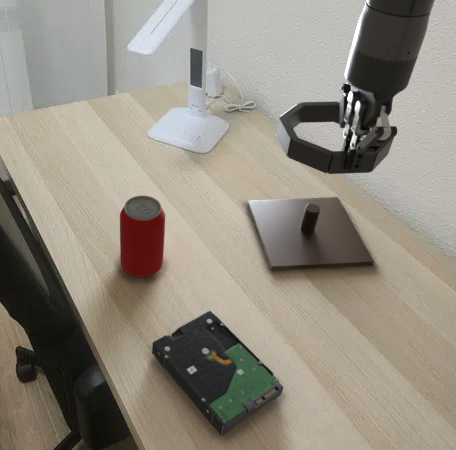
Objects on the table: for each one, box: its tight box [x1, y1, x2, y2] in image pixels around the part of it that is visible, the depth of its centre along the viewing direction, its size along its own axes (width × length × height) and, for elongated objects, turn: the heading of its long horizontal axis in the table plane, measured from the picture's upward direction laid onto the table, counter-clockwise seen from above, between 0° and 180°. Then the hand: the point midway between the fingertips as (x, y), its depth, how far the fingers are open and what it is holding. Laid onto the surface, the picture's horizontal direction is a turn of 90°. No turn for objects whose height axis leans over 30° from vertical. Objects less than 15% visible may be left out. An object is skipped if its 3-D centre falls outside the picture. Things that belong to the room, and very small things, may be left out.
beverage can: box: [119, 195, 166, 278], centre depth 84 cm, size 7×7×12 cm
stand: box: [246, 196, 375, 271], centre depth 93 cm, size 17×17×6 cm
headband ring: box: [275, 101, 395, 175], centre depth 81 cm, size 15×15×3 cm
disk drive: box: [151, 310, 284, 437], centre depth 72 cm, size 10×3×15 cm
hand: (348, 166), depth 76 cm, fingers closed on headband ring, 1 cm apart
